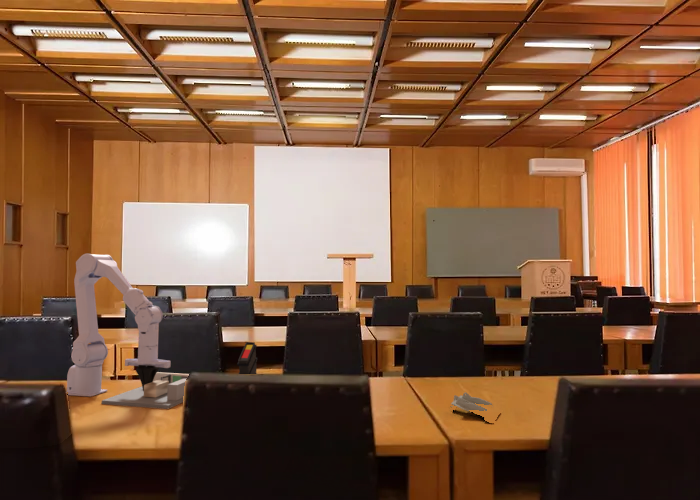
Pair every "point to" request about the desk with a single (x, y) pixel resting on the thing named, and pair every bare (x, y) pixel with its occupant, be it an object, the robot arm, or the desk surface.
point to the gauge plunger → (157, 387)
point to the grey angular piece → (469, 402)
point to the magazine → (248, 359)
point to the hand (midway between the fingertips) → (146, 390)
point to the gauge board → (163, 401)
